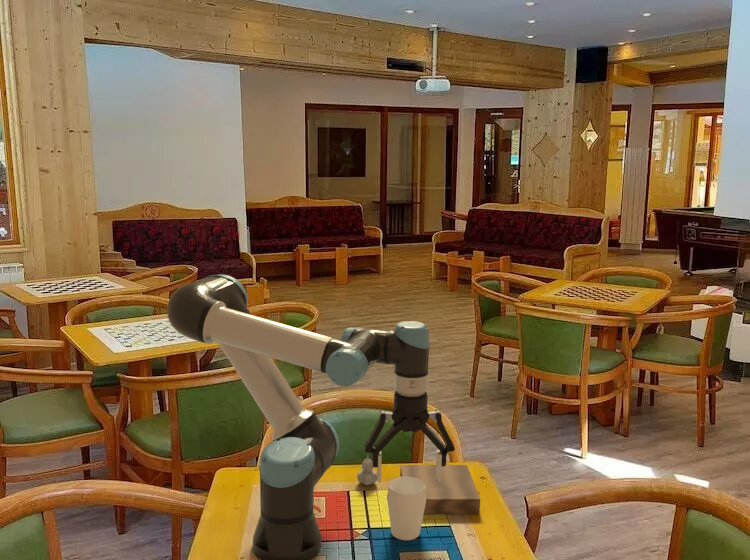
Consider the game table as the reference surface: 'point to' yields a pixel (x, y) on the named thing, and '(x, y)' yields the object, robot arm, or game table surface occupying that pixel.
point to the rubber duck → (367, 472)
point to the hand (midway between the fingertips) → (408, 479)
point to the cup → (406, 506)
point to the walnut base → (446, 489)
